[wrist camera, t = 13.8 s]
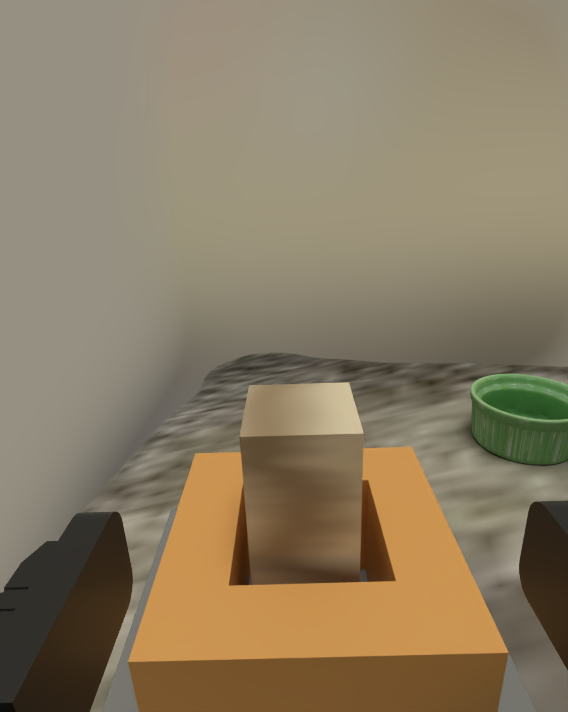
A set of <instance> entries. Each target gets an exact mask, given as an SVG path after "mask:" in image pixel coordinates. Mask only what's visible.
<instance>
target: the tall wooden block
mask: <svg viewBox="0 0 568 712" xmlns="http://www.w3.org/2000/svg"><path fill="white" fill-rule="evenodd" d="M363 437H364V433H363V430H362V426H361V423H360V419H359V416H358V413H357V409H356V406H355V402H354V399H353V395H352V392H351V388H350V385H349V383H318V384H284V385H251V386H249V390H248V396H247V401H246V406H245V411H244V416H243V422H242V427H241V432H240V448H241V460H242V473H243V485H244V497H245V509H246V522H247V534H248V546H249V558H250V570H251V583H252V585H271V584H309V583H346V582H360V551H361V513H362V475H363Z"/></svg>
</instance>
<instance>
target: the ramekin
mask: <svg viewBox="0 0 568 712" xmlns="http://www.w3.org/2000/svg"><path fill="white" fill-rule="evenodd" d="M470 394H471V399H472V425H471V426H472V434H473V436H474V438H475V439H476V441H477V442H478V443H479V444H480V445H481V446H482V447H484V448H485V449H486V450H488V451H490V452H491V453H493V454H495V455H498V456H500V457H502V458H505V459H508V460H511V461H515V462H519V463H525V464H533V465H550V464H557V463H560V462H563V461H565V460H567V459H568V385H566V384H564V383H561V382H558V381H555V380H551V379H547V378H543V377H537V376H531V375H523V374H497V375H491V376H486V377H483V378H480V379H478V380H477V381H475V382H474V383H473V384H472V386H471V389H470Z"/></svg>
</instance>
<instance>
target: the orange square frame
mask: <svg viewBox="0 0 568 712" xmlns="http://www.w3.org/2000/svg"><path fill="white" fill-rule="evenodd" d="M102 712H536V710H535V708H534V705H533V703H532V701H531V699H530V697H529V695H528V693H527V691H526V688H525V686H524V684H523V682H522V680H521V678H520V676H519V674H518V671H517V669H516V667H515V665H514V663H513V661H512V659H511V657H510V654H509V652H508V650H507V648H506V646H505V644H504V642H503V640H502V637H501V635H500V633H499V631H498V629H497V627H496V625H495V623H494V620H493V618H492V616H491V614H490V612H489V610H488V608H487V606H486V603H485V601H484V599H483V597H482V595H481V593H480V591H479V589H478V586H477V584H476V582H475V580H474V578H473V576H472V574H471V572H470V569H469V567H468V565H467V563H466V561H465V559H464V557H463V555H462V552H461V550H460V548H459V546H458V544H457V542H456V540H455V538H454V535H453V533H452V531H451V529H450V527H449V525H448V523H447V521H446V518H445V516H444V514H443V512H442V510H441V508H440V506H439V504H438V501H437V499H436V497H435V495H434V493H433V491H432V489H431V487H430V484H429V482H428V480H427V478H426V476H425V474H424V472H423V470H422V467H421V465H420V463H419V461H418V459H417V457H416V455H415V453H414V450H413V448H412V447H391V448H363V475H362V513H361V551H360V582H346V583H309V584H271V585H252V583H251V570H250V558H249V546H248V534H247V522H246V509H245V497H244V485H243V473H242V460H241V452H231V453H199V454H195V457H194V460H193V463H192V466H191V469H190V472H189V475H188V478H187V481H186V484H185V488H184V491H183V494H182V497H181V500H180V503H179V506H178V508H172V509H171V512H170V515H169V518H168V521H167V524H166V527H165V530H164V532H163V535H162V538H161V541H160V544H159V547H158V550H157V553H156V556H155V559H154V562H153V565H152V567H151V570H150V573H149V576H148V579H147V582H146V585H145V588H144V591H143V594H142V597H141V599H140V602H139V605H138V608H137V611H136V614H135V617H134V620H133V623H132V626H131V629H130V632H129V634H128V637H127V640H126V643H125V646H124V649H123V652H122V655H121V658H120V661H119V664H118V667H117V669H116V672H115V675H114V678H113V681H112V684H111V687H110V690H109V693H108V696H107V699H106V702H105V704H104V707H103V710H102Z"/></svg>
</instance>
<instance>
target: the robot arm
mask: <svg viewBox="0 0 568 712" xmlns="http://www.w3.org/2000/svg"><path fill="white" fill-rule="evenodd" d="M519 574H520V580H521V584H522V588H523V591H524V593H525V596H526V598H527V600H528V602H529V603H530V605H531V607H532V609H533V610H534V612H535V614H536V616H537V617H538V619H539V621H540V623H541V624H542V626H543V628H544V630H545V631H546V633H547V635H548V637H549V638H550V640H551V642H552V644H553V645H554V647H555V649H556V651H557V652H558V654H559V656H560V658H561V659H562V661H563V663H564V665H565V666H566V668H567V670H568V501H543V502H534V503H532V505H531V506H530V508H529V512H528V517H527V523H526V528H525V534H524V539H523V545H522V551H521V556H520V562H519ZM132 583H133V576H132V568H131V563H130V558H129V553H128V547H127V542H126V537H125V532H124V527H123V522H122V518H121V516H120V514H119V513H118V512H86V513H78V514H76V515H75V516H74V517H73V518H72V520H71V521H70V523H69V525H68V526H67V528H66V530H65V531H64V533H63V534H62V536H61V537H60V539H59V541H47V542H45V543H44V544H43V545H42V546H41V547H39V549H37V550H36V551H35V552H34V553H32V554H31V555H30V556H29V557H28V558H26V559H25V560H24V561H23V562H22V563H21V564H20V566H19V567H18V568H17V570H16V571H15V573H14V574H13V576H12V577H11V579H10V580H9V582H8V583H7V584H6V586H5V587H4V592H3V593H0V712H90V709H91V706H92V704H93V701H94V698H95V696H96V693H97V690H98V687H99V685H100V682H101V679H102V677H103V674H104V671H105V669H106V666H107V663H108V660H109V658H110V655H111V652H112V650H113V647H114V644H115V642H116V639H117V636H118V633H119V631H120V628H121V625H122V623H123V620H124V617H125V614H126V612H127V609H128V606H129V603H130V599H131V593H132Z"/></svg>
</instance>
